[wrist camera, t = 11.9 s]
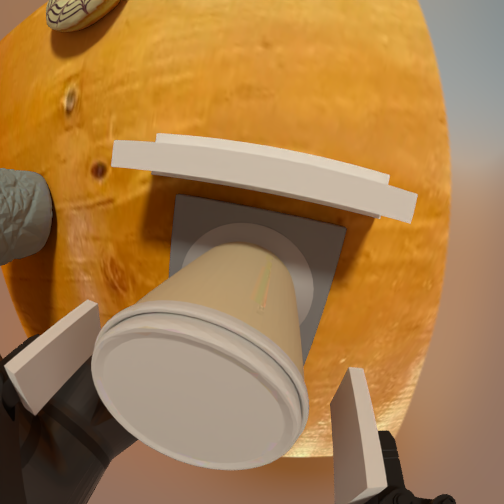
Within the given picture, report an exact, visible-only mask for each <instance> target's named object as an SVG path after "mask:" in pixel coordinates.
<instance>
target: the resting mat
mask: <svg viewBox="0 0 504 504" xmlns="http://www.w3.org/2000/svg"><path fill="white" fill-rule="evenodd" d="M346 230H347V229H346V227H343V226H339V225H335V224H331V223H326V222H322V221H317V220H313V219H308V218H304V217H299V216H295V215H290V214H285V213H280V212H276V211H271V210H266V209H261V208H256V207H251V206H246V205H240V204H235V203H230V202H224V201H219V200H213V199H208V198H202V197H196V196H190V195H184V194H177V195H176V200H175V209H174V219H173V229H172V240H171V253H170V267H169V278H170V277H171V276H173V275H174V274H175V273H177V272H178V271H180V270H181V269H182V268H184V267H185V266H187V265H188V264H190V263H191V262H192V261H194V260H195V259H197V258H198V257H200V256H201V255H202V254H204V253H205V252H207V251H209V250H210V249H212V248H214V247H216V246H218V245H221V244H224V243H228V242H234V241H242V242H250V243H255V244H257V245H260V246H262V247H264V248H266V249H268V250H270V251H271V252H273V253H274V254H275V255H276V256H278V258H279V259H280V260H281V261H282V262H283V263H284V264H285V266H286V267H287V269H288V271H289V273H290V275H291V277H292V280H293V284H294V289H295V294H296V302H297V310H298V318H299V327H300V337H301V347H302V358H303V366H304V364H305V361H306V358H307V356H308V353H309V350H310V348H311V345H312V342H313V339H314V336H315V333H316V330H317V328H318V325H319V322H320V319H321V316H322V313H323V309H324V306H325V303H326V300H327V297H328V294H329V290H330V287H331V284H332V281H333V277H334V274H335V270H336V267H337V263H338V260H339V256H340V253H341V249H342V245H343V241H344V238H345V234H346Z"/></svg>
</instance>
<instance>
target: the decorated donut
mask: <svg viewBox="0 0 504 504" xmlns="http://www.w3.org/2000/svg"><path fill="white" fill-rule="evenodd" d="M119 1H120V0H49V2H48V4H47V7H46V20H47V25H48V26H49V27H50V28H52V29H53V30H56V31H59V32H74V31H78V30H79V31H80V30H81V29H84V28H87V27H88V26H90V25H92V24H94V23H96V22H97V21H99V20H100V19H101V18H103V17H104V16H105V15H106V14H107V13H108V12H110V11H111V10H112V9H114V8H115V7H116V6H117V4H118V3H119Z"/></svg>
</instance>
